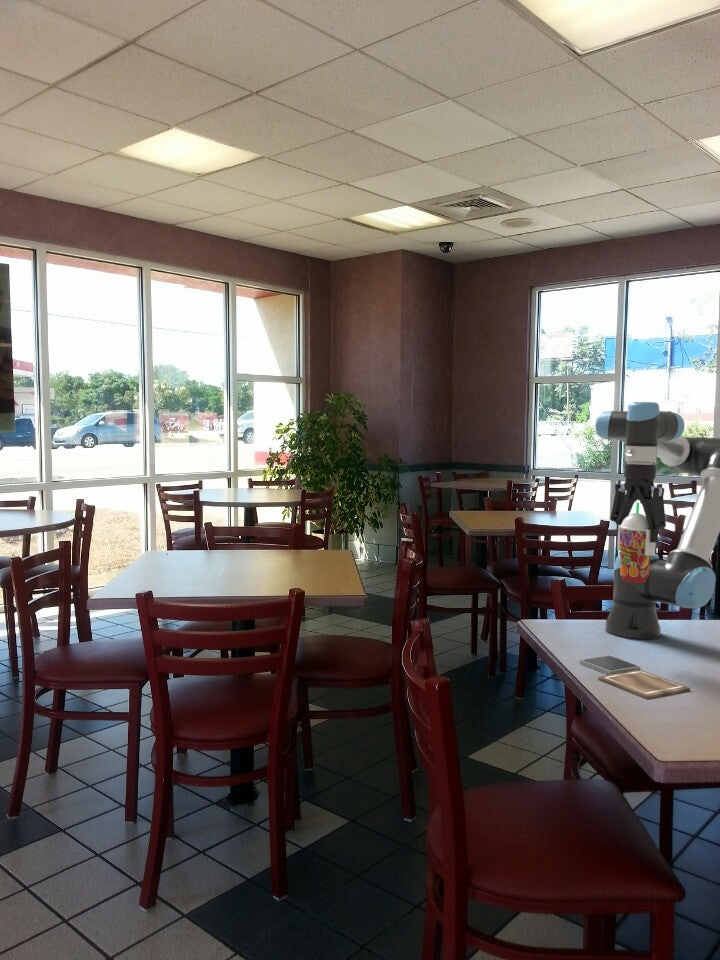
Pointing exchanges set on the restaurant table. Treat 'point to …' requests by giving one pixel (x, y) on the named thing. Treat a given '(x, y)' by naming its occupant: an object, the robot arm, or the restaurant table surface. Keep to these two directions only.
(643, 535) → the smoothie
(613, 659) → the ink pad
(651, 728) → the restaurant table surface
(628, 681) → the board
